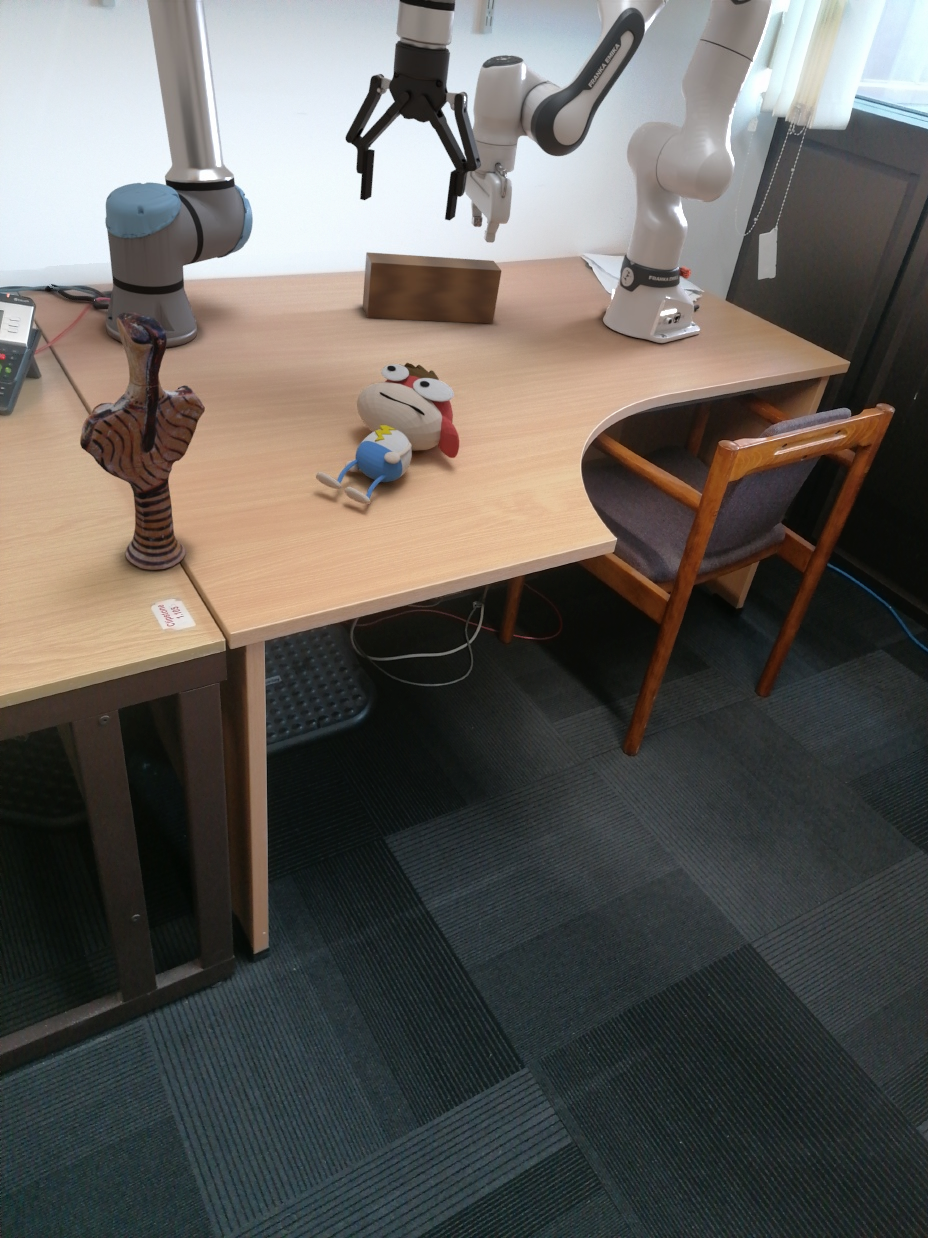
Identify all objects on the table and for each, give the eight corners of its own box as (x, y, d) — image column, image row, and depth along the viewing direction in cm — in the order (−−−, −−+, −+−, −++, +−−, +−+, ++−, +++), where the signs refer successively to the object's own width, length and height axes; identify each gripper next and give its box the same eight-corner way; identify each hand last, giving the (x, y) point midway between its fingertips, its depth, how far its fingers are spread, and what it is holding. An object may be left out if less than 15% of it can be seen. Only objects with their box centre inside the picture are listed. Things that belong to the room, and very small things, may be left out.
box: (367, 317, 178) (371, 262, 171) (362, 306, 182) (366, 251, 175) (492, 323, 185) (501, 270, 178) (485, 312, 189) (493, 260, 183)
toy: (278, 428, 121) (396, 343, 140) (277, 485, 128) (389, 398, 148) (391, 486, 117) (497, 391, 136) (384, 542, 124) (485, 444, 143)
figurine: (185, 519, 115) (170, 285, 96) (226, 544, 112) (219, 308, 93) (85, 564, 105) (47, 314, 86) (127, 593, 102) (97, 341, 83)
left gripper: (517, 58, 122) (492, 220, 135) (349, 23, 126) (341, 184, 139) (503, 63, 116) (478, 232, 130) (327, 26, 120) (321, 194, 133)
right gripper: (524, 172, 160) (512, 251, 169) (493, 144, 175) (484, 217, 184) (490, 170, 158) (481, 250, 167) (462, 142, 173) (454, 216, 182)
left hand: (407, 208), depth 134 cm, fingers open, 13 cm apart
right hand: (482, 233), depth 175 cm, fingers open, 8 cm apart
